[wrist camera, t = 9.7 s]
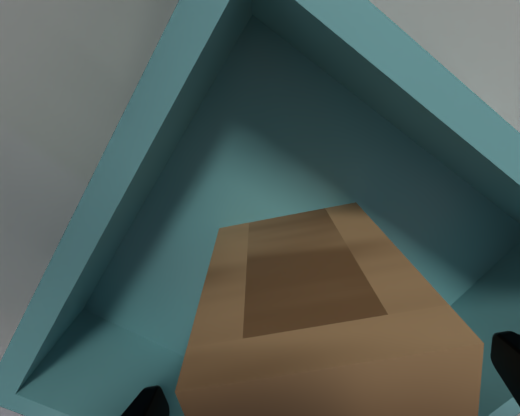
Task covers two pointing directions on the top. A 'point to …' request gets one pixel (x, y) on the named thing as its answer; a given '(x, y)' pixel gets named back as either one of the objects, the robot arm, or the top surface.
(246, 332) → the taped shipping carton
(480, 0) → the top surface
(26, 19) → the top surface
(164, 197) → the bin
